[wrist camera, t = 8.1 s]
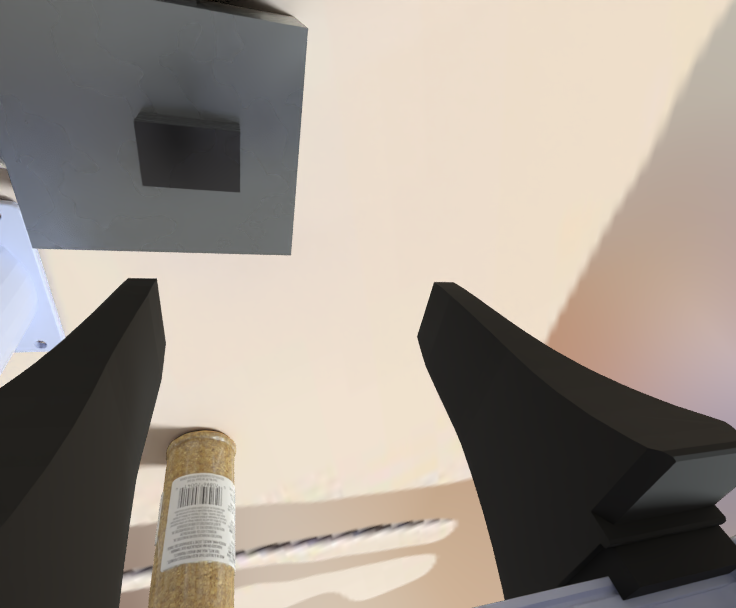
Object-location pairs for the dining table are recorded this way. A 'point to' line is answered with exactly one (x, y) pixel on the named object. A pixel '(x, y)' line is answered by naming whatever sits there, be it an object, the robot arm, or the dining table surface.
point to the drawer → (152, 124)
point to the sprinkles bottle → (196, 525)
